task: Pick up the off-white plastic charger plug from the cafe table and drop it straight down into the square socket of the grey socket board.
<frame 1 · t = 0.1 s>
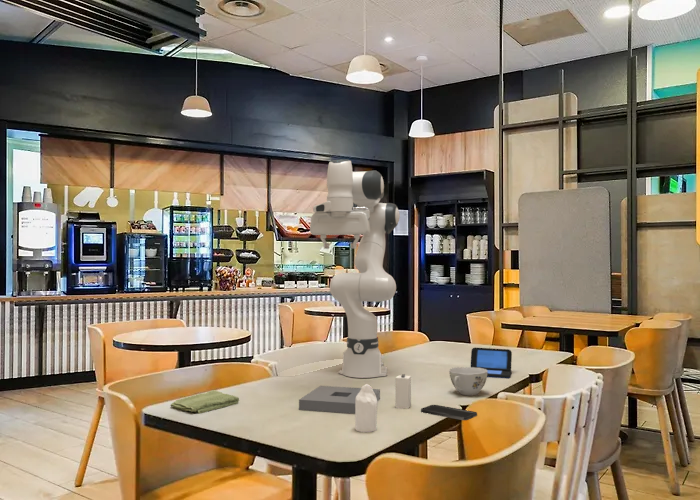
hand: (339, 248, 202), 48 cm above the table, fingers open, 8 cm apart
teacup: (466, 394, 199), on the table
charger plug: (403, 406, 182), on the table
white bottle: (366, 430, 158), on the table
phone: (448, 415, 175), on the table
grey socket board: (341, 404, 185), on the table
washcloth: (205, 407, 183), on the table
handheld game console: (490, 375, 233), on the table
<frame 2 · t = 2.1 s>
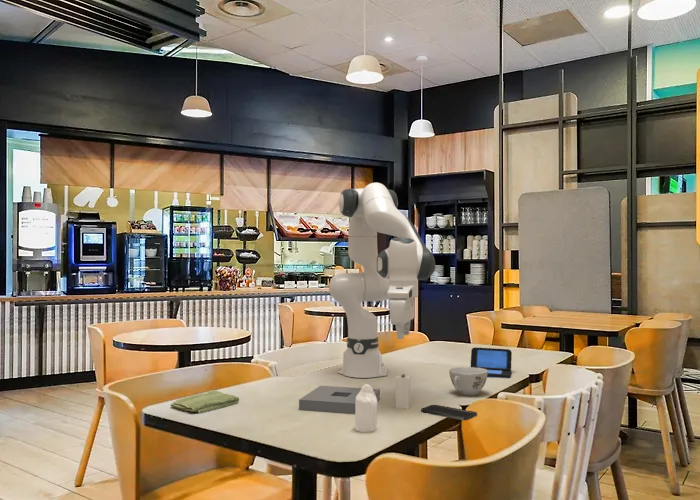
hand: (403, 336, 182), 21 cm above the table, fingers open, 8 cm apart
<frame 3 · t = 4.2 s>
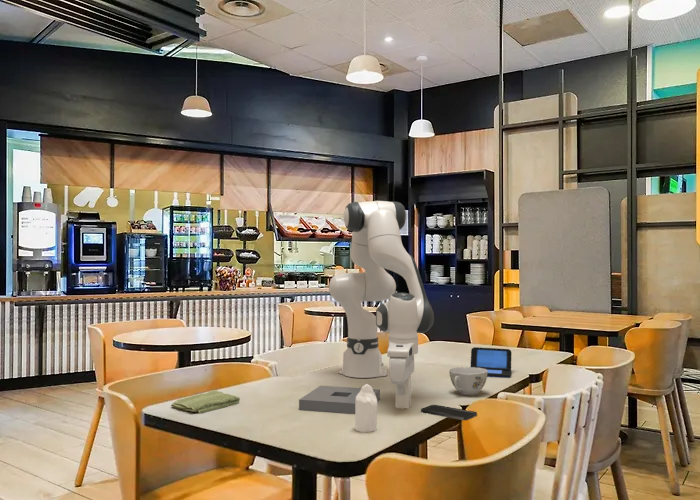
hand: (403, 393, 182), 4 cm above the table, fingers closed on charger plug, 4 cm apart
charger plug: (403, 406, 182), on the table, touching gripper
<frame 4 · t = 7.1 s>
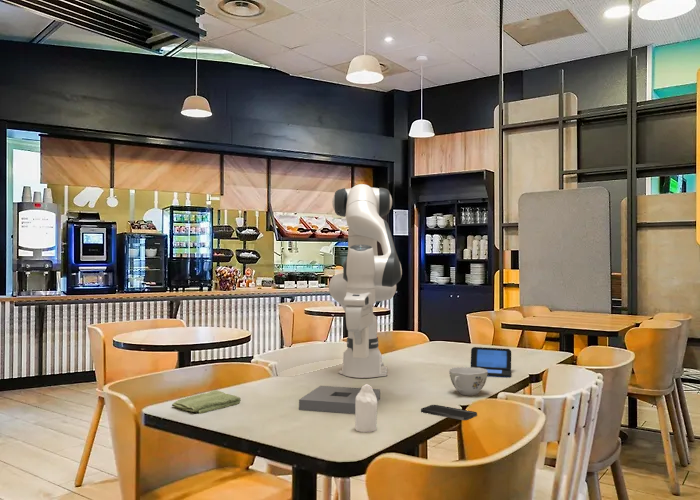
hand: (360, 343, 185), 19 cm above the table, fingers closed on charger plug, 4 cm apart
charger plug: (360, 356, 185), point 15 cm above the table, touching gripper
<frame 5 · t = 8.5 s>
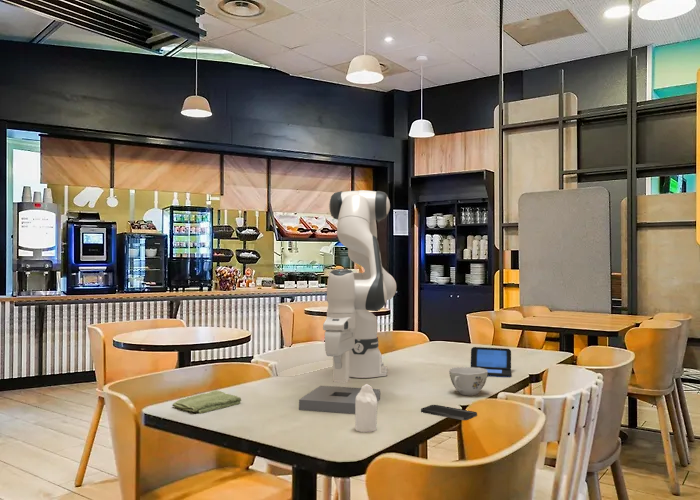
hand: (341, 367, 185), 11 cm above the table, fingers closed on charger plug, 4 cm apart
charger plug: (341, 380, 185), point 7 cm above the table, touching gripper
when the fingers open (6 cm above the table, at t = 9.8 s): charger plug drops 1 cm, resting on grey socket board.
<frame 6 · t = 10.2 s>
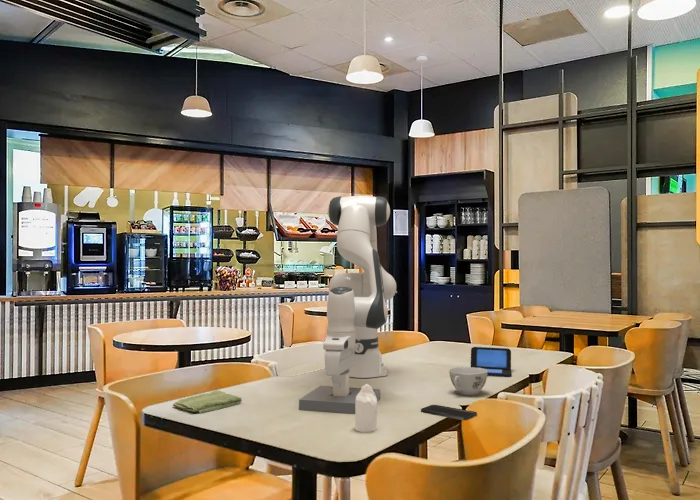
hand: (341, 385, 185), 6 cm above the table, fingers open, 8 cm apart
charger plug: (341, 402, 185), resting on grey socket board
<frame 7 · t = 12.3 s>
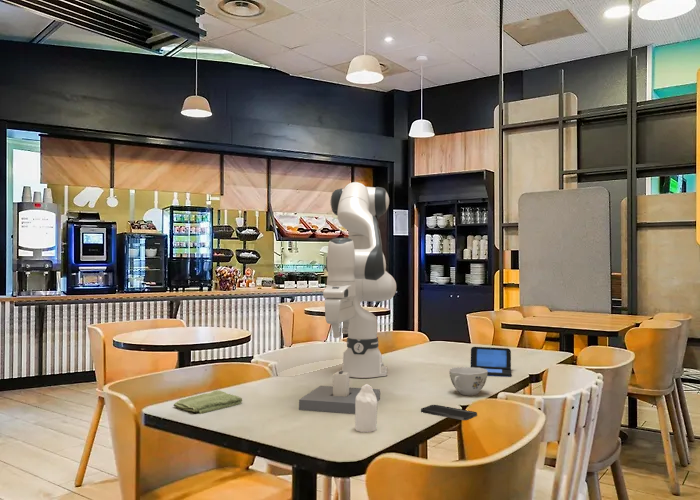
hand: (341, 335, 186), 21 cm above the table, fingers open, 8 cm apart
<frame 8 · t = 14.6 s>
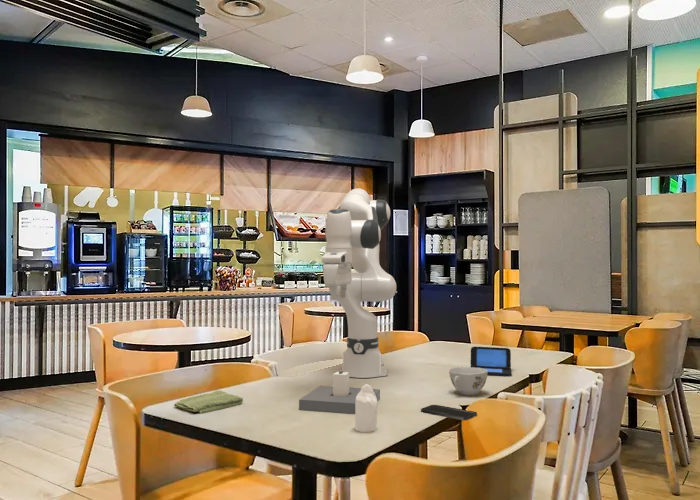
hand: (338, 299, 200), 31 cm above the table, fingers open, 8 cm apart
at the end: charger plug 0.1 cm off-centre on the grey socket board, point 0.4 cm above the grey socket board's base; charger plug tilted 0°; the gripper is holding nothing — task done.
